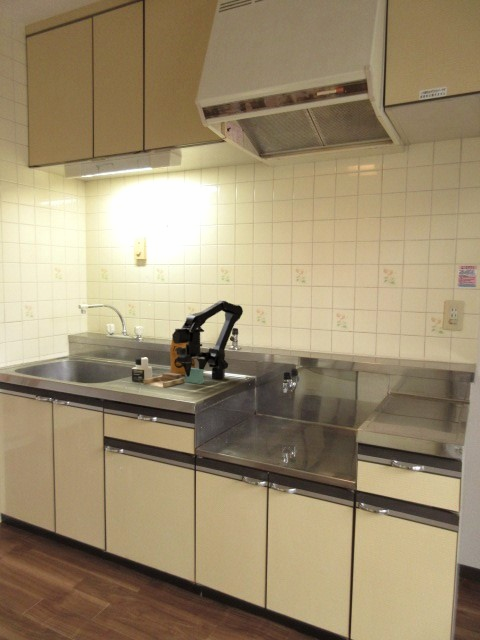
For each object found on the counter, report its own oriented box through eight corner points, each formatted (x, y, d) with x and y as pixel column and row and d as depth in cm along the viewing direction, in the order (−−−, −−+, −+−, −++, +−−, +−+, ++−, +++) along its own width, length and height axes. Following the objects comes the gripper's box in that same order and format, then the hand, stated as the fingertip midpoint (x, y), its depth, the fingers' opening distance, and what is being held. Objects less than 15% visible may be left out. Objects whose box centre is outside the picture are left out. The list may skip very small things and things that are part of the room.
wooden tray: (164, 381, 226) (164, 375, 226) (184, 384, 219) (184, 377, 218) (144, 386, 215) (144, 379, 215) (164, 389, 207) (164, 382, 207)
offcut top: (167, 376, 224) (167, 372, 223) (181, 378, 219) (180, 374, 219) (162, 377, 221) (162, 373, 220) (176, 379, 216) (176, 375, 216)
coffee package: (188, 378, 232) (188, 334, 231) (167, 376, 237) (167, 333, 236) (198, 374, 242) (198, 332, 240) (177, 373, 247) (177, 332, 245)
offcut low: (166, 379, 224) (166, 376, 224) (180, 381, 219) (180, 378, 219) (161, 381, 221) (161, 377, 221) (175, 383, 216) (175, 379, 216)
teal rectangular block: (188, 381, 222) (188, 367, 221) (203, 384, 217) (203, 369, 216) (185, 382, 220) (185, 368, 219) (200, 385, 215) (200, 370, 214)
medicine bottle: (131, 382, 222) (131, 358, 221) (140, 380, 229) (139, 355, 228) (144, 384, 219) (143, 358, 218) (152, 381, 226) (152, 356, 225)
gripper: (193, 338, 229) (194, 370, 230) (167, 342, 214) (168, 376, 215) (211, 340, 223) (211, 372, 224) (186, 344, 207) (186, 378, 209)
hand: (194, 374), depth 218 cm, fingers open, 9 cm apart
